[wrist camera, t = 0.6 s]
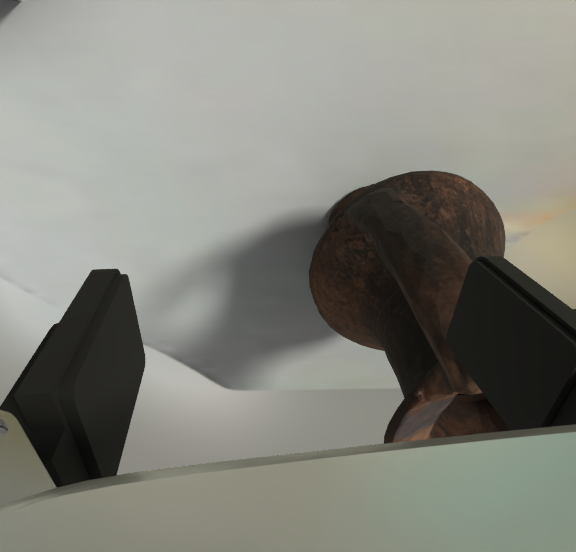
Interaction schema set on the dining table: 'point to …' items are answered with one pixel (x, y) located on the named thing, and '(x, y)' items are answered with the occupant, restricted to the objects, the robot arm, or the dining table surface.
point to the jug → (410, 291)
